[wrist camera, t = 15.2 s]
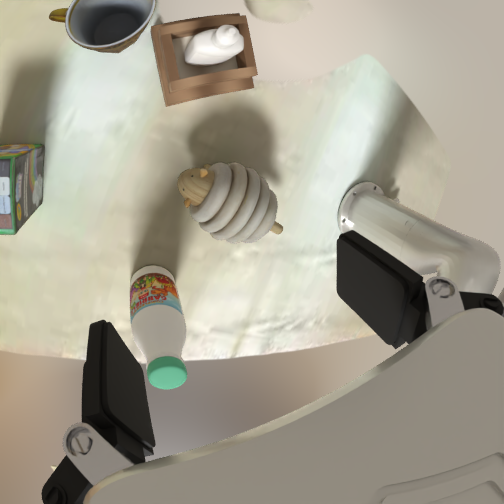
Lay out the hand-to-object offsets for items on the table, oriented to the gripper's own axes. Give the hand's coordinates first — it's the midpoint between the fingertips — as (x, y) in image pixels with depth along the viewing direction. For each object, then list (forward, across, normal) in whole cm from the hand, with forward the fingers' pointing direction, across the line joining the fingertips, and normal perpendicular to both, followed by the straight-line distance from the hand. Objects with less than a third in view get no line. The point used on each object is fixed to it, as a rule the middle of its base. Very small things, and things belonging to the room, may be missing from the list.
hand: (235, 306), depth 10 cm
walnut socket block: (+32, -8, -14) cm, 36 cm away
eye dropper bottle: (+30, -8, -14) cm, 34 cm away
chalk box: (+33, +22, -7) cm, 40 cm away
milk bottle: (+32, +8, +18) cm, 38 cm away
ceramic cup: (+32, +4, -22) cm, 39 cm away
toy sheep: (+33, -7, +7) cm, 34 cm away
